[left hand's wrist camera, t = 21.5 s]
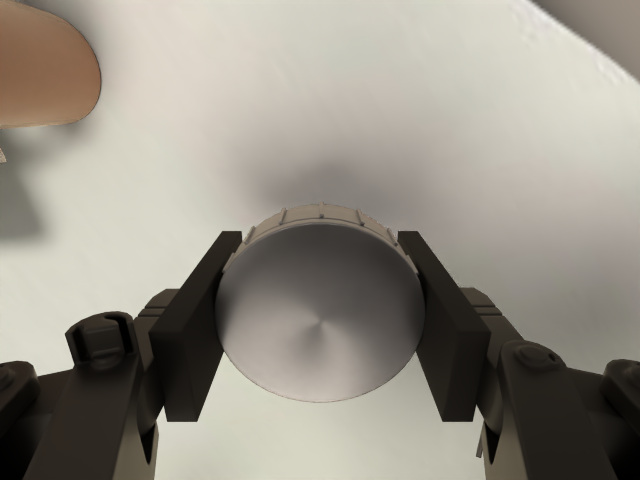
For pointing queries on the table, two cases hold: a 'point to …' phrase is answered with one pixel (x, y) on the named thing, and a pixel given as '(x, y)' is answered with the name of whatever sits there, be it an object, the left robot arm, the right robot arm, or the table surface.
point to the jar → (43, 69)
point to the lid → (319, 304)
